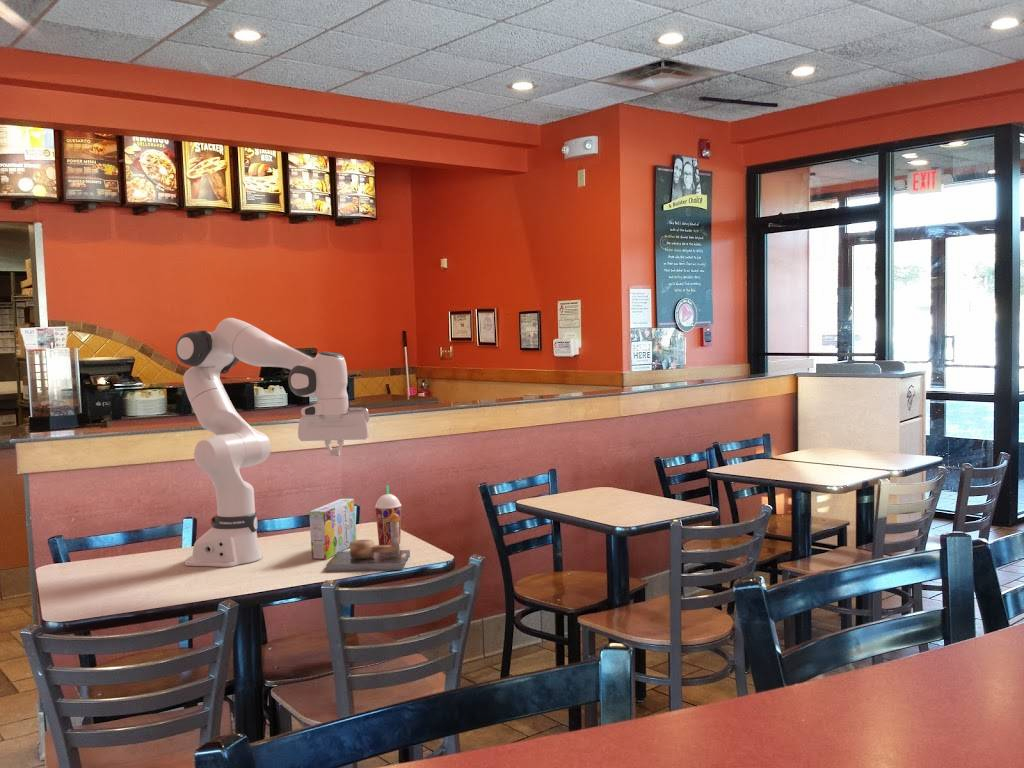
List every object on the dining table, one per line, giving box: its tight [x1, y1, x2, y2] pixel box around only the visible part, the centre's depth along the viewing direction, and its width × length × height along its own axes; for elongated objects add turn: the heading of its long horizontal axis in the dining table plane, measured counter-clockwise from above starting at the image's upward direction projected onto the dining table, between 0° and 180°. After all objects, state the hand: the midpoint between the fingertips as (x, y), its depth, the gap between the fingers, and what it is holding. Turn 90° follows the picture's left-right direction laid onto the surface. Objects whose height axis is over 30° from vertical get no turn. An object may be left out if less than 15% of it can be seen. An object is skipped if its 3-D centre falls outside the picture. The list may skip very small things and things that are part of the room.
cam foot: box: [349, 513, 401, 559], centre depth 267 cm, size 15×7×12 cm, turn 86°
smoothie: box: [374, 485, 402, 545], centre depth 287 cm, size 8×8×20 cm
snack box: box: [308, 498, 357, 560], centre depth 285 cm, size 21×6×15 cm, turn 164°
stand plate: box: [325, 549, 411, 573], centre depth 268 cm, size 22×16×2 cm
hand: (334, 455), depth 261 cm, fingers closed
